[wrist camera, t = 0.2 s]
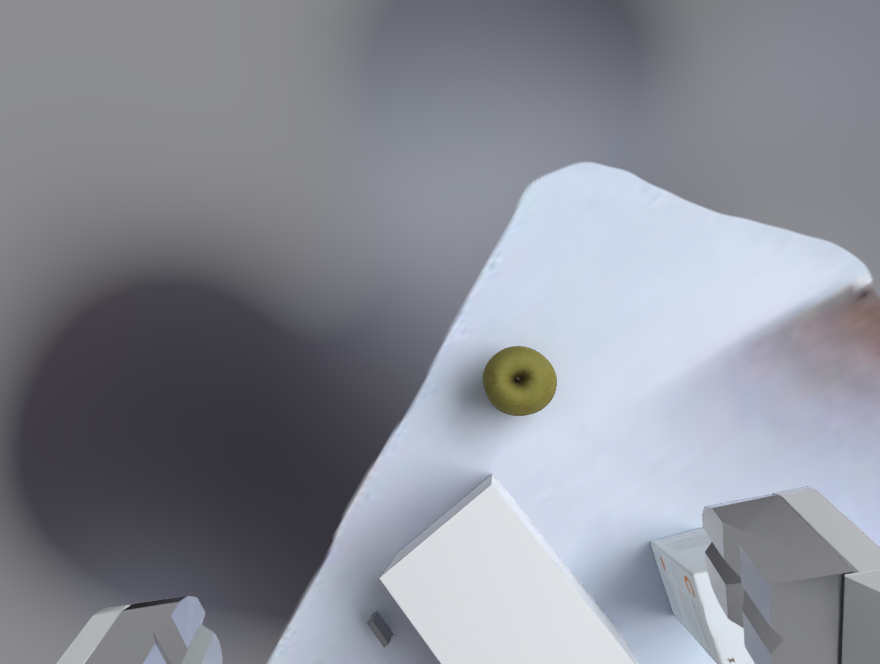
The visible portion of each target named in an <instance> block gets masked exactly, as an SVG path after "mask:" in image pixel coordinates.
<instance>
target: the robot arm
mask: <svg viewBox="0 0 880 664" xmlns="http://www.w3.org/2000/svg"><path fill="white" fill-rule="evenodd" d="M702 518H703V529H704V530H705V532H706V533H707V535H708V536H709V538H710V539H711V541H712V542H711V544H710V545H709V547H708V548H707V550H706V551H705V558H706V567H707V572H708V576H709V579H710V583H711V586H712V589H713V591H714V594H715V596H716V598H717V600H718V602H719V604H720V606H721V608H722V610H723V611H724V613H725V615H726V616H727V618H728V619H729V620H731V621H732V622H734V623H736V624H737V625H739V626H741V627H742V628H744V645H745V648H746V650H747V651H748V653H749V654H750V656H751V658H752V659H753V661H754V663H755V664H880V547H879V546H878V545H877V544H876V543H875V542H874V541H873V540H871V539H870V538H869V537H868V536H867V535H866V534H865V533H864V532H863V531H862V530H860V529H859V528H858V527H857V526H856V525H855V524H854V523H853V522H852V521H850V520H849V519H848V518H847V517H846V516H845V515H844V514H843V513H842V512H840V511H839V510H838V509H837V508H836V507H835V506H834V505H833V504H832V503H830V502H829V501H828V500H827V499H826V498H825V497H824V496H823V495H822V494H820V493H819V492H818V491H817V490H815V489H813V488H810V487H808V486H807V487H802V488H797V489H792V490H787V491H782V492H777V493H773V494H772V495H764V496H759V497H753V498H747V499H742V500H736V501H731V502H725V503H720V504H714V505H709V506H704V510H703V514H702ZM204 616H205V611H204V609H203V607H202V606H201V604H200V602H199V600H198V598H196V597H192V596H183V597H177V598H169V599H163V600H156V601H149V602H142V603H135V604H132V605H126V606H119V607H112V608H105V609H103V610H102V611H100V612H98V613H96V614H95V615H93V616H92V618H91V619H90V620H89V621H88V623H87V624H86V626H85V627H84V628H83V630H82V631H81V632H80V633H79V635H78V636H77V637H76V639H75V640H74V641H73V642H72V644H71V645H70V646H69V648H68V649H67V651H66V652H65V653H64V654H63V656H62V657H61V658H60V660H59V661H58V662H57V664H222V663H223V658H222V652H221V646H220V643H219V641H218V639H217V637H216V634H215V633H214V632H212V631H210V630H209V629H207V628H206V627H204V626H203V625H201V624H202V621H203V619H204Z"/></svg>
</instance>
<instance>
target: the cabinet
mask: <svg viewBox="0 0 880 664" xmlns="http://www.w3.org/2000/svg"><path fill="white" fill-rule="evenodd" d="M380 580H381V581H382V583H383V584H384V585H385V587H386V588H387V590H388V591H389V592H390V594H391V595H392V596H393V598H394V599H395V601H396V602H397V603H398V605H399V606H400V608H401V609H402V610H403V612H404V613H405V615H406V616H407V617H408V619H409V620H410V621H411V623H412V624H413V626H414V627H415V628H416V630H417V631H418V633H419V634H420V635H421V637H422V638H423V639H424V641H425V642H426V644H427V645H428V646H429V648H430V649H431V651H432V652H433V653H434V655H435V656H436V657H437V659H438V660H439V662H440V663H441V664H639V662H638V660H637V658H636V656H635V655H634V653H633V651H632V649H631V648H630V646H629V644H628V642H627V640H626V639H625V637H624V636H623V635H622V634H621V632H620V631H619V630H618V629H617V627H616V626H615V625H614V624H613V623H612V621H611V620H610V619H609V618H608V616H607V615H606V614H605V613H604V611H603V610H602V609H601V608H600V606H599V605H598V604H597V603H596V601H595V600H594V599H593V598H592V596H591V595H590V594H589V593H588V591H587V590H586V589H585V588H584V586H583V585H582V584H581V583H580V582H579V580H578V579H577V578H576V577H575V575H574V574H573V573H572V572H571V570H570V569H569V568H568V567H567V565H566V564H565V563H564V562H563V560H562V559H561V558H560V557H559V555H558V554H557V553H556V552H555V550H554V549H553V548H552V547H551V545H550V544H549V543H548V542H547V540H546V539H545V538H544V537H543V536H542V534H541V533H540V532H539V531H538V529H537V528H536V527H535V526H534V524H533V523H532V522H531V521H530V519H529V518H528V517H527V516H526V514H525V513H524V512H523V511H522V509H521V508H520V507H519V506H518V504H517V503H516V502H515V501H514V499H513V498H512V497H511V496H510V495H509V493H508V492H507V491H506V490H505V488H504V487H503V486H502V485H501V483H500V482H499V481H498V480H497V478H496V477H495V476H494V475H493V474H491V475H490V476H489V477H488V478H487V479H485V480H484V481H483V482H482V483H481V484H479V485H478V486H477V487H476V488H475V489H473V490H472V491H471V492H470V493H469V494H467V495H466V496H465V497H464V498H463V499H461V500H460V501H459V502H458V503H457V504H455V505H454V506H453V507H452V508H451V509H449V510H448V511H447V512H446V513H445V514H443V515H442V516H441V517H440V518H439V519H437V520H436V521H435V522H434V523H433V524H431V525H430V526H429V527H428V528H427V529H425V530H424V531H423V532H422V533H421V534H419V535H418V536H417V537H416V538H415V539H413V540H412V541H411V542H410V543H409V544H408V545H406V546H405V547H404V548H403V549H402V550H400V551H399V552H398V554H397V555H396V556H395V558H394V559H393V560H392V562H391V563H390V564H389V566H388V567H387V569H386V570H385V571H384V573H383V574H382V575H381V577H380ZM367 624H368V625H369V627H370V628H371V629H372V631H373V632H374V634H375V635H376V637H377V638H378V639H379V641H380V642H381V644H382V645H383V647H385V646H387V645H388V644H389V642H390V640H391V638H392V636H393V634H392V632H391V631H390V629H389V628H388V627H387V625H386V624H385V622H384V621H383V620H382V618H381V617H380V615H379V614H378V613H377V612H376V613H375V614H373V616H372V617H371V619H370V620H369V622H368V623H367Z"/></svg>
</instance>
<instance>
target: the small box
mask: <svg viewBox="0 0 880 664" xmlns="http://www.w3.org/2000/svg"><path fill="white" fill-rule="evenodd" d="M711 542H712V541H711V539H710V538H709V536H708V535H707V533H706V532H705V530H704V529H703V528H701V529H697V530H693V531H689V532H685V533H681V534H677V535H673V536H669V537H665V538H661V539H657V540H653V541H650V543H651V547H652V550H653V553H654V556H655V559H656V563H657V566H658V569H659V572H660V575H661V578H662V581H663V584H664V587H665V590H666V593H667V596H668V599H669V602H670V605H671V608H672V611H673V614H674V616H675V617H676V618H677V619H678V620H679V621H680V623H681V624H682V625H683V626H684V627H685V628H686V629H687V630H688V631H689V632H690V634H691V635H692V636H693V637H694V638H695V639H696V640H697V642H698V643H699V644H700V645H701V646H702V647H703V648H704V650H705V651H706V652H707V653H708V654H709V655H710V656H711V657H712V659H713V660H714V661H715V662H716V663H717V664H755V663H754V661H753V659H752V658H751V656H750V654H749V653H748V651H747V650H746V648H745V645H744V628H742V627H741V626H739V625H737V624H736V623H734V622H732V621H731V620H729V619H728V618H727V616H726V615H725V613H724V611H723V610H722V608H721V606H720V604H719V602H718V600H717V598H716V596H715V594H714V591H713V589H712V586H711V583H710V579H709V576H708V572H707V567H706V558H705V551H706V550H707V548H708V547H709V545H710V544H711Z"/></svg>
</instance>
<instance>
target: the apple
mask: <svg viewBox="0 0 880 664" xmlns="http://www.w3.org/2000/svg"><path fill="white" fill-rule="evenodd" d="M483 384H484V389H485V392H486V394H487V396H488V398H489V400H490V401H491V403H492V404H493V405H494V406H495V407H496V408H497V409H498V410H500V411H502V412H504V413H506V414H509V415H514V416H524V415H529V414H533V413H536V412H538V411H540V410H542V409H543V408H544V407H546V406H547V405H548V404H549V402H550V401H551V400H552V398H553V396H554V394H555V391H556V386H557V378H556V374H555V371H554V368H553V367H552V365H551V363H550V362H549V361H548V360H547V359H546V358H545V357H544V356H543V355H542V354H540V353H539V352H537V351H535V350H533V349H531V348H527V347H522V346H514V347H509V348H506V349H503V350H501V351H500V352H498V353H497V354H495V355H494V356H493V357H492V358H491V359H490V360H489V362H488V364H487V365H486V368H485V370H484V374H483Z"/></svg>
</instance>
